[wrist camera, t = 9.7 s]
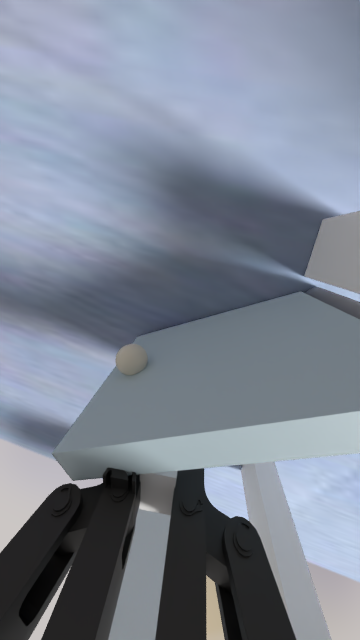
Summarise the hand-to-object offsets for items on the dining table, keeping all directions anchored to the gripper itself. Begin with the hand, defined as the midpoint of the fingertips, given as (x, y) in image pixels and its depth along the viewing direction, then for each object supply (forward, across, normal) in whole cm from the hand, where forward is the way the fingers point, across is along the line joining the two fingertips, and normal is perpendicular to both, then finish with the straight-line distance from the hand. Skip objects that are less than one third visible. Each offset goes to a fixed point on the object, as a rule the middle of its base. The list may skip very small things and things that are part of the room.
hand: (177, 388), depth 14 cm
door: (+3, +3, +5) cm, 6 cm away
